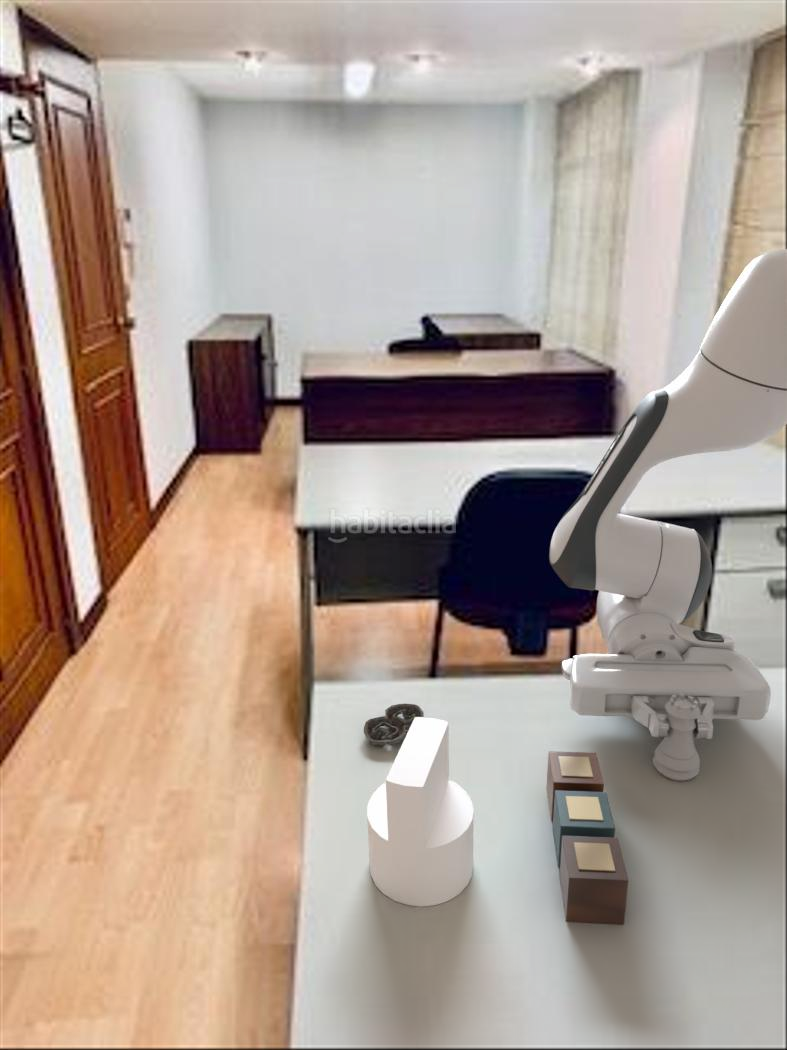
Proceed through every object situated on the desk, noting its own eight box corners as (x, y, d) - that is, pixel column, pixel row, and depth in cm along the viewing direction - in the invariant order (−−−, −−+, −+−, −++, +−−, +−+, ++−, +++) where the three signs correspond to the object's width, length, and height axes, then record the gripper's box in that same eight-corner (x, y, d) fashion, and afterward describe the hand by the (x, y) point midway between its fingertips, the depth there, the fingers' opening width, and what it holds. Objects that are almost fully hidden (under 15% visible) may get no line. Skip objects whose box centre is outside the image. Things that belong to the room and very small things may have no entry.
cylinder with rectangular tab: (460, 917, 61) (461, 796, 57) (355, 893, 63) (347, 775, 59) (482, 837, 69) (483, 725, 65) (387, 818, 71) (382, 710, 67)
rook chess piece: (642, 761, 78) (649, 694, 75) (677, 749, 79) (685, 684, 77) (674, 788, 74) (682, 719, 71) (709, 775, 76) (718, 707, 73)
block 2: (613, 879, 64) (617, 836, 62) (624, 924, 60) (628, 879, 58) (559, 877, 64) (562, 834, 63) (565, 921, 60) (568, 877, 58)
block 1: (593, 790, 74) (596, 751, 72) (600, 823, 70) (604, 783, 68) (546, 788, 74) (548, 750, 73) (551, 821, 70) (553, 781, 69)
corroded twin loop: (434, 721, 85) (434, 713, 85) (387, 756, 80) (386, 747, 79) (400, 704, 88) (400, 697, 88) (353, 737, 83) (352, 729, 82)
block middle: (602, 831, 69) (606, 790, 67) (611, 870, 65) (615, 827, 63) (552, 829, 69) (554, 788, 68) (558, 867, 65) (560, 825, 64)
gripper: (560, 633, 87) (576, 702, 74) (745, 635, 85) (796, 707, 72) (557, 680, 89) (573, 755, 76) (738, 684, 87) (786, 762, 74)
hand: (683, 732), depth 74 cm, fingers closed on rook chess piece, 3 cm apart
